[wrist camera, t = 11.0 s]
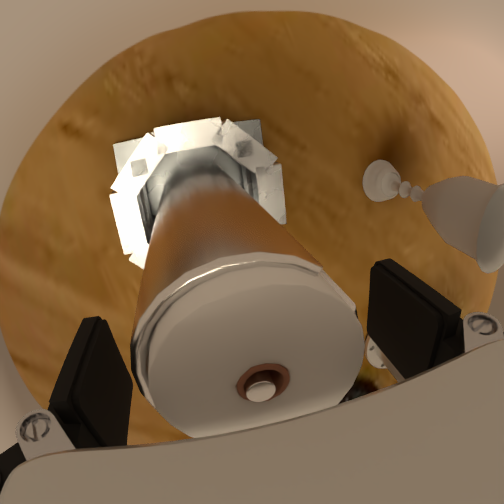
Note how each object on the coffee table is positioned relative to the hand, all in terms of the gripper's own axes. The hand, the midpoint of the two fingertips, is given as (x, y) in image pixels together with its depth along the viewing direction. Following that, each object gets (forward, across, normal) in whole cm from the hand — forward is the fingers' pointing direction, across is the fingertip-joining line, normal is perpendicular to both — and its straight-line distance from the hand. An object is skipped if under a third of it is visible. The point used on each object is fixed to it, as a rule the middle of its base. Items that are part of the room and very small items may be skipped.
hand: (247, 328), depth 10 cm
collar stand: (+23, +1, -1) cm, 23 cm away
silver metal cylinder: (+22, +1, -1) cm, 22 cm away
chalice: (+23, -20, +1) cm, 31 cm away
